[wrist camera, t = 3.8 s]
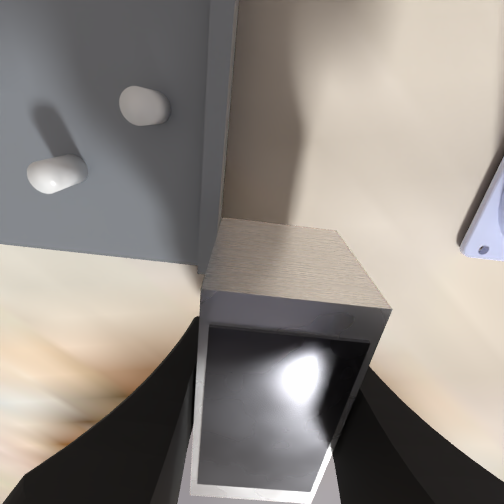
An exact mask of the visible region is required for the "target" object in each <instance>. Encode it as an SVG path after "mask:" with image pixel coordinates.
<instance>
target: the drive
mask: <svg viewBox="0 0 504 504" xmlns="http://www.w3.org/2000/svg"><path fill="white" fill-rule="evenodd" d="M391 311H392V308H391V307H390V305H389V304H388V302H387V301H386V300H385V298H384V297H383V295H382V294H381V292H380V291H379V290H378V288H377V287H376V285H375V284H374V283H373V281H372V280H371V278H370V277H369V276H368V274H367V273H366V271H365V270H364V269H363V267H362V266H361V264H360V263H359V262H358V260H357V259H356V257H355V256H354V254H353V253H352V252H351V250H350V249H349V247H348V246H347V245H346V243H345V242H344V240H343V239H342V238H341V236H340V235H339V233H338V232H337V231H334V230H326V229H318V228H309V227H301V226H293V225H284V224H276V223H268V222H259V221H251V220H243V219H234V218H226V217H222V221H221V224H220V227H219V231H218V234H217V237H216V241H215V244H214V247H213V251H212V254H211V257H210V261H209V264H208V267H207V270H206V274H205V277H204V280H203V284H202V287H201V298H200V316H199V334H198V353H197V371H196V389H195V408H194V426H193V444H192V445H193V446H192V463H191V481H190V495H195V496H196V495H197V496H209V497H223V498H237V499H251V500H265V501H279V502H293V503H308V504H311V502H312V500H313V497H314V495H315V493H316V490H317V488H318V485H319V483H320V480H321V478H322V476H323V474H324V471H325V469H326V466H327V464H328V462H329V459H330V457H331V454H332V452H333V450H334V447H335V445H336V443H337V440H338V438H339V435H340V433H341V431H342V428H343V426H344V424H345V421H346V419H347V416H348V414H349V412H350V409H351V407H352V404H353V402H354V400H355V397H356V395H357V393H358V390H359V388H360V385H361V383H362V381H363V378H364V376H365V373H366V371H367V369H368V366H369V364H370V362H371V359H372V357H373V354H374V352H375V350H376V347H377V345H378V342H379V340H380V338H381V335H382V333H383V331H384V328H385V326H386V323H387V321H388V319H389V316H390V314H391Z"/></svg>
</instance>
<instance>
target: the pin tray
mask: <svg viewBox="0 0 504 504" xmlns="http://www.w3.org/2000/svg"><path fill="white" fill-rule="evenodd" d="M238 7H239V0H0V244H5V245H14V246H23V247H33V248H42V249H51V250H60V251H69V252H78V253H87V254H97V255H106V256H115V257H124V258H133V259H142V260H151V261H161V262H170V263H179V264H188V265H197V266H198V274H206V270H207V267H208V264H209V261H210V257H211V254H212V251H213V247H214V244H215V241H216V237H217V234H218V231H219V227H220V224H221V216H222V203H223V191H224V179H225V167H226V154H227V142H228V130H229V117H230V105H231V93H232V80H233V68H234V56H235V44H236V31H237V19H238Z"/></svg>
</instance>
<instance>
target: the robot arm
mask: <svg viewBox="0 0 504 504" xmlns="http://www.w3.org/2000/svg"><path fill="white" fill-rule="evenodd" d="M482 246H483V248H482V249H481V250H480V251H479V249H480V247H482ZM460 252H461V253H462V254H464V255H465V256H467V257H472V258H480V259H489V260H497V261H504V157H503V159H502V161H501V163H500V165H499V167H498V169H497V171H496V173H495V175H494V178H493V180H492V182H491V184H490V186H489V188H488V190H487V192H486V194H485V196H484V198H483V200H482V202H481V204H480V206H479V208H478V210H477V212H476V214H475V217H474V219H473V221H472V223H471V225H470V227H469V229H468V231H467V233H466V235H465V237H464V239H463V241H462V243H461V245H460ZM198 334H199V317H198V316H197V317H195V318H194V319H193V321H192V323H191V324H190V326H189V327H188V329H187V330H186V332H185V333H184V335H183V336H182V338H181V339H180V340H179V342H178V343H177V344H176V346H175V347H174V348H173V349H172V351H171V352H170V353H169V354H168V356H167V357H166V358H165V359H164V360H163V361H162V363H161V364H160V365H159V366H158V367H157V368H156V369H155V370H154V372H153V373H152V374H151V375H150V376H149V377H148V378H147V379H146V380H145V381H144V382H143V383H142V384H141V385H140V386H139V387H138V388H137V389H136V390H135V391H134V392H133V393H132V394H131V395H130V396H128V397H127V398H126V399H125V400H124V401H123V402H122V403H121V404H119V405H118V406H117V407H116V408H115V409H114V410H113V411H111V412H110V413H109V414H108V415H107V416H105V417H104V418H103V419H102V420H100V421H99V422H98V423H97V424H95V425H94V426H93V427H91V428H90V429H89V430H88V431H86V432H85V433H84V434H82V435H81V436H80V437H78V438H77V439H76V440H75V441H73V442H72V443H70V444H69V445H68V446H66V447H65V448H63V449H62V450H60V451H59V452H57V453H56V454H55V455H53V456H52V457H50V458H49V459H47V460H46V461H44V462H43V463H41V464H40V465H38V466H37V467H36V468H34V469H33V470H31V471H30V472H28V473H27V474H25V475H24V476H23V478H22V479H21V480H20V481H19V483H18V484H17V485H16V487H15V488H14V489H13V491H12V492H11V493H10V494H9V496H8V497H7V498H6V500H5V501H4V502H3V504H177V502H178V497H179V491H180V485H181V480H182V474H183V469H184V463H185V458H186V452H187V448H188V444H189V439H190V435H191V432H192V428H193V424H194V408H195V389H196V371H197V353H198ZM332 454H333V459H334V463H335V469H336V475H337V481H338V486H339V493H340V499H341V504H504V482H503V481H501V480H500V479H498V478H497V477H496V476H494V475H493V474H491V473H490V472H489V471H487V470H486V469H484V468H483V467H482V466H480V465H479V464H478V463H476V462H475V461H473V460H472V459H471V458H469V457H468V456H467V455H465V454H464V453H463V452H461V451H460V450H459V449H458V448H456V447H455V446H454V445H453V444H451V443H450V442H449V441H448V440H446V439H445V438H444V437H443V436H441V435H440V434H439V433H438V432H436V431H435V430H434V429H433V428H432V427H431V426H429V425H428V424H427V423H426V422H425V421H424V420H422V419H421V418H420V417H419V416H418V415H417V414H416V413H415V412H414V411H413V410H411V409H410V408H409V407H408V406H407V405H406V404H405V403H404V402H403V401H402V400H401V399H400V398H399V397H398V396H397V395H396V394H395V393H394V392H393V391H392V390H391V389H390V388H389V387H388V386H387V385H386V384H385V383H384V382H383V381H382V380H381V379H380V378H379V377H378V376H377V374H376V373H375V372H374V371H373V370H372V369H371V368H370V367H369V366H368V369H367V371H366V373H365V376H364V378H363V381H362V383H361V385H360V388H359V390H358V393H357V395H356V397H355V400H354V402H353V404H352V407H351V409H350V412H349V414H348V416H347V419H346V421H345V424H344V426H343V428H342V431H341V433H340V435H339V438H338V440H337V443H336V445H335V447H334V450H333V452H332Z"/></svg>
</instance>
